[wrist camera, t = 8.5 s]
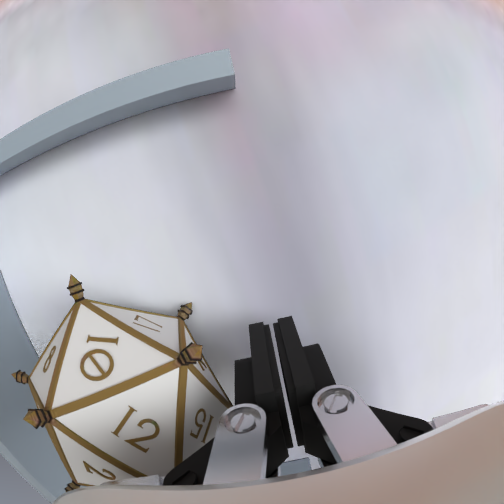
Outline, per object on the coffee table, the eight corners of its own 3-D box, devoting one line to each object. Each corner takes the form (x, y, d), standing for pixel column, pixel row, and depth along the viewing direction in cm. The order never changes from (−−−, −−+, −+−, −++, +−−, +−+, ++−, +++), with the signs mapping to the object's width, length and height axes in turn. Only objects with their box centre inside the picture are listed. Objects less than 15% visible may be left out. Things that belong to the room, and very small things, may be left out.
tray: (229, 65, 10) (224, -12, 5) (309, 464, 17) (325, 535, 11) (-38, 180, 11) (-115, 200, 5) (108, 476, 17) (91, 534, 11)
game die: (164, 332, 18) (79, 466, 11) (81, 220, 12) (-51, 390, 6) (308, 375, 13) (211, 563, 7) (259, 227, 8) (42, 577, 2)
